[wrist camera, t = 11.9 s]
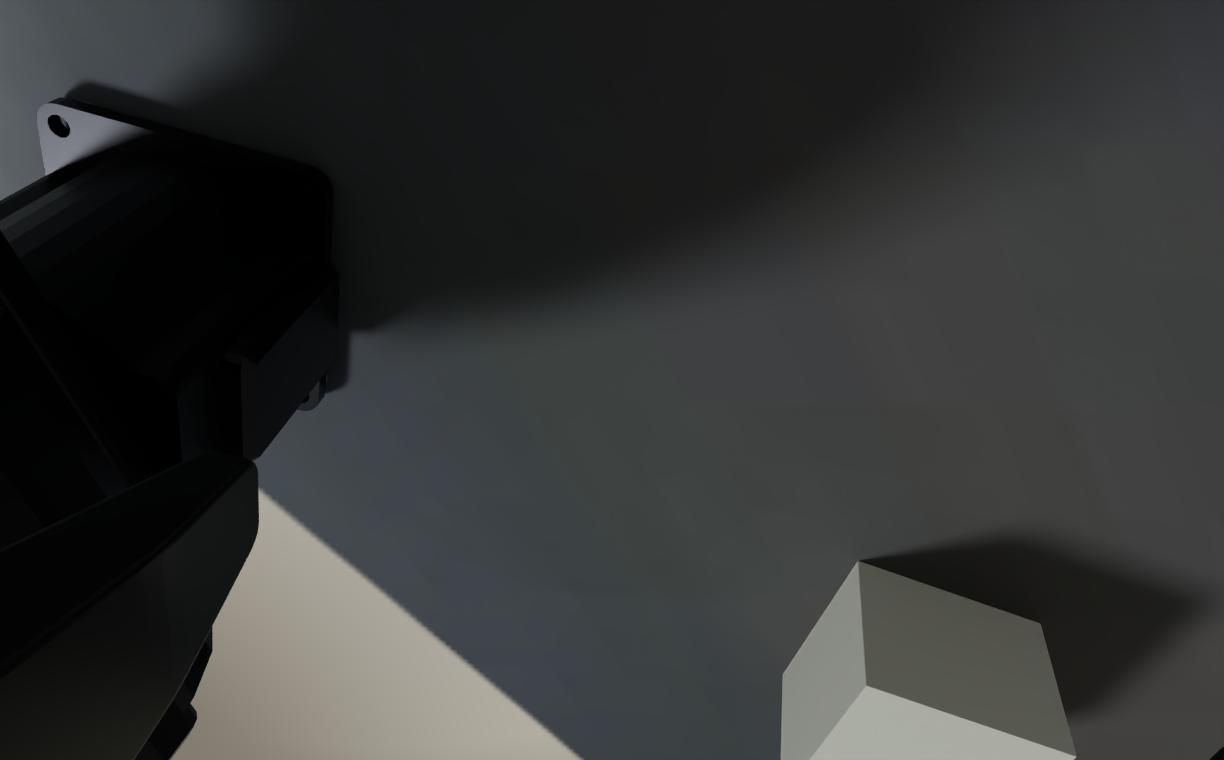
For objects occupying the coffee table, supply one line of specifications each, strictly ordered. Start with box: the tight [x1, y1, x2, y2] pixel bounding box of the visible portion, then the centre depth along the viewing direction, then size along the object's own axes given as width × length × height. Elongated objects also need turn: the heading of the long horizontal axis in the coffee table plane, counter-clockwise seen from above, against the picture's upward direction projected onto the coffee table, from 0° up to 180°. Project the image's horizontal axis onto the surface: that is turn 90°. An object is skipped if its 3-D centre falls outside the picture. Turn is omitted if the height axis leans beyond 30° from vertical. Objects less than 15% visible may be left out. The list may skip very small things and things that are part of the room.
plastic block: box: [781, 561, 1077, 760], centre depth 24 cm, size 5×5×4 cm
